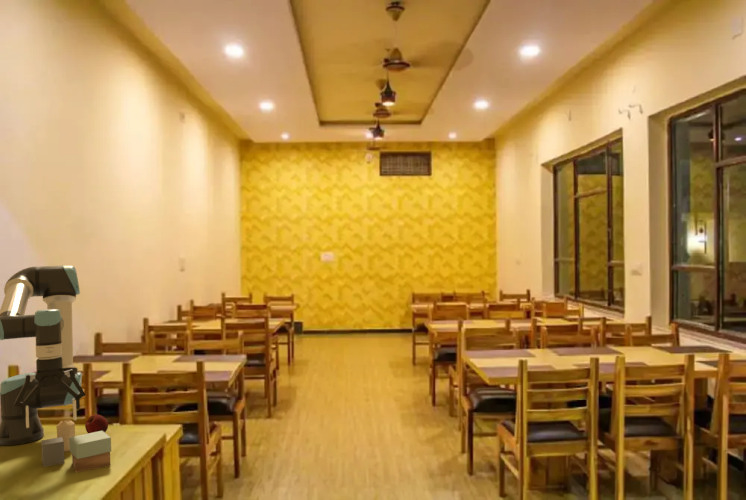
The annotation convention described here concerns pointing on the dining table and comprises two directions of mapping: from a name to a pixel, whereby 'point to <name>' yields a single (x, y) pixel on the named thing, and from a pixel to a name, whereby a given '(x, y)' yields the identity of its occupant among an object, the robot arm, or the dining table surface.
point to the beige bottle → (66, 432)
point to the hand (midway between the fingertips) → (51, 423)
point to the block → (52, 451)
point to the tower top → (90, 444)
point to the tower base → (91, 462)
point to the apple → (96, 424)
